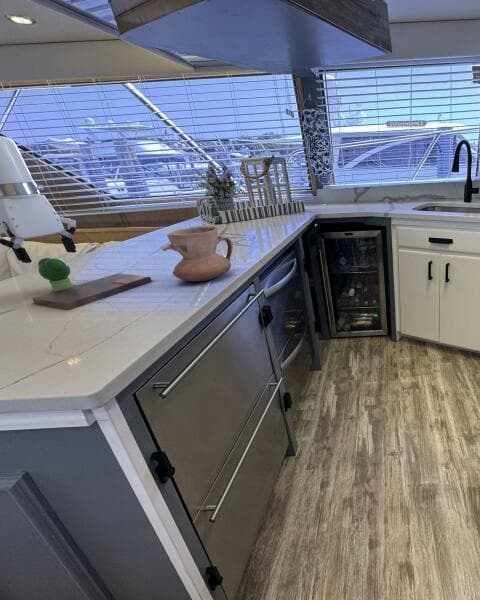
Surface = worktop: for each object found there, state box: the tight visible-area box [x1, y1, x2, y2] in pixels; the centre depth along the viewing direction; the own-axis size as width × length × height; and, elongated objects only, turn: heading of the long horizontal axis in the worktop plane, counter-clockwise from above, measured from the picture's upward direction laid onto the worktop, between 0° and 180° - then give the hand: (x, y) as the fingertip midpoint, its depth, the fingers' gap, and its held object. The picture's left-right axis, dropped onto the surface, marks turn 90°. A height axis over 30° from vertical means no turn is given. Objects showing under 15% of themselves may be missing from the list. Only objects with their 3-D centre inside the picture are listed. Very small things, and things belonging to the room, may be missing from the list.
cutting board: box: [31, 272, 153, 310], centre depth 87 cm, size 20×14×2 cm
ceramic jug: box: [160, 225, 234, 283], centre depth 93 cm, size 18×14×14 cm
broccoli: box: [37, 257, 74, 292], centre depth 89 cm, size 6×7×9 cm
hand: (50, 257), depth 87 cm, fingers open, 9 cm apart
